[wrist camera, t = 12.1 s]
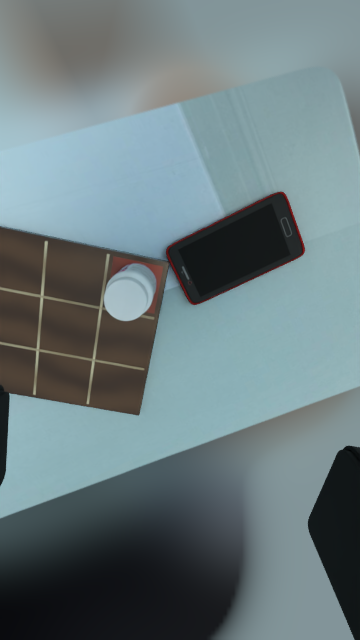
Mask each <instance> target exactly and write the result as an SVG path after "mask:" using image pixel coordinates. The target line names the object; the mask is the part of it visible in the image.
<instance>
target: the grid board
mask: <svg viewBox="0 0 360 640" xmlns="http://www.w3.org/2000/svg"><path fill="white" fill-rule="evenodd" d="M132 263H139V264H143V265H145V266H147V267H148V268H149V269H150V270H151V271H152V272H153V273H154V275H155V277H156V282H157V287H156V291H155V294H154V297H153V300H152V303H151V305H150V307H149V309H148V310H147V311H146V312H145V313H143V314H142V315H141V316H140V317H138V318H137V319H134V320H131V321H121V320H118V319H116V318H114V317H113V316H111V315H110V314H109V313H108V311H107V310H106V308H105V305H104V294H105V290H106V286H107V284H108V282H109V280H110V279H111V278H112V277H113V276H114V275H115V274H116V273H117V272H118V271H120V270H121V269H122V268H123V267H124V266H126V265H128V264H132ZM168 267H169V261H165V260H160V259H155V258H150V257H146V256H141V255H136V254H131V253H127V252H122V251H117V250H112V249H108V248H103V247H98V246H93V245H89V244H84V243H79V242H74V241H70V240H65V239H60V238H55V237H51V236H46V235H41V234H36V233H32V232H27V231H22V230H17V229H13V228H8V227H3V226H0V385H2V386H3V388H4V391H5V392H8V393H12V394H17V395H23V396H29V397H35V398H41V399H46V400H52V401H58V402H64V403H70V404H75V405H81V406H87V407H93V408H99V409H104V410H110V411H116V412H122V413H128V414H133V415H139V414H140V409H141V404H142V398H143V393H144V388H145V383H146V378H147V373H148V368H149V363H150V358H151V353H152V348H153V343H154V338H155V333H156V328H157V323H158V318H159V313H160V308H161V303H162V298H163V293H164V288H165V282H166V277H167V272H168Z"/></svg>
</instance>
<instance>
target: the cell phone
mask: <svg viewBox="0 0 360 640" xmlns="http://www.w3.org/2000/svg"><path fill="white" fill-rule="evenodd" d="M304 252H305V248H304V244H303V241H302V238H301V235H300V232H299V229H298V226H297V223H296V221H295V218H294V215H293V212H292V209H291V206H290V203H289V201H288V198H287V196H286V195H285V193H284V192H277V193H274V194H272V195H270V196H268V197H266V198H263V199H261V200H259V201H257V202H255V203H253V204H251V205H249V206H247V207H245V208H243V209H241V210H239V211H237V212H235V213H233V214H231V215H229V216H227V217H225V218H223V219H221V220H219V221H217V222H215V223H213V224H212V225H210V226H208V227H206V228H203V229H201V230H199V231H197V232H195V233H193V234H191V235H189V236H187V237H185V238H183V239H181V240H179V241H177V242H175V243H173V244H172V245H170V246H169V247H168V248H167V249H166V255H167V258H168V260H169V262H170V264H171V266H172V268H173V270H174V272H175V274H176V276H177V279H178V281H179V283H180V285H181V287H182V289H183V291H184V293H185V295H186V297H187V299H188V300H189V302H190V303H191V304H193V305H197V304H200V303H202V302H205V301H207V300H209V299H211V298H213V297H216V296H218V295H220V294H222V293H224V292H226V291H228V290H231V289H233V288H235V287H237V286H239V285H241V284H244V283H246V282H248V281H250V280H252V279H254V278H256V277H259V276H261V275H263V274H265V273H267V272H269V271H272V270H274V269H276V268H278V267H280V266H282V265H284V264H287V263H289V262H291V261H293V260H295V259H297V258H299V257H301V256H302V255H303V254H304ZM230 288H231V289H230ZM221 292H222V293H221ZM219 293H220V294H219ZM217 294H218V295H217Z"/></svg>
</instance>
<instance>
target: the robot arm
mask: <svg viewBox="0 0 360 640" xmlns="http://www.w3.org/2000/svg"><path fill="white" fill-rule="evenodd" d="M8 417H9V393H8V392H5V391H4V388H3V386H2V385H0V486H1V484H2V482H3V479H4V476H5V472H6V456H7V436H8ZM308 529H309V533H310V535H311V538H312V540H313V542H314V545H315V547H316V549H317V552H318V554H319V557H320V559H321V561H322V563H323V566H324V568H325V571H326V573H327V575H328V578H329V580H330V582H331V585H332V587H333V590H334V592H335V594H336V597H337V599H338V601H339V604H340V606H341V608H342V611H343V613H344V616H345V618H346V620H347V623H348V625H349V627H350V630H351V632H352V634H353V637H354V639H355V640H360V448H359V447H354V446H346V447H345V448H344V449H343V450H340V451H339V452H338V453H337V455H336V458H335V460H334V462H333V464H332V467H331V469H330V471H329V473H328V476H327V478H326V480H325V483H324V485H323V487H322V489H321V491H320V494H319V496H318V498H317V501H316V503H315V505H314V507H313V510H312V512H311V514H310V516H309V519H308Z"/></svg>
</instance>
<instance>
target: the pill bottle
mask: <svg viewBox="0 0 360 640" xmlns="http://www.w3.org/2000/svg"><path fill="white" fill-rule="evenodd" d="M156 287H157V282H156V277H155V275H154V273H153V272H152V271H151V270H150V269H149V268H148V267H147V266H145V265H143V264H139V263H132V264H128V265H126V266H124V267H123V268H122V269H121V270H120V271H118V272H117V273H116V274H115V275H114V276H113V277H112V278H111V279H110V280H109V282H108V284H107V286H106V290H105V294H104V305H105V308H106V310H107V311H108V313H109V314H110V315H111V316H113V317H114V318H116V319H118V320H121V321H131V320H134V319H137V318H138V317H140V316H141V315H142V314H143V313H145V312H146V311H147V310H148V309H149V307H150V305H151V303H152V300H153V297H154V294H155V291H156Z"/></svg>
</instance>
